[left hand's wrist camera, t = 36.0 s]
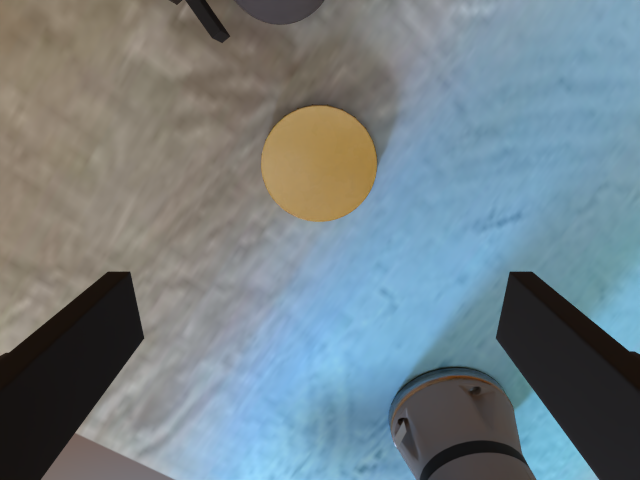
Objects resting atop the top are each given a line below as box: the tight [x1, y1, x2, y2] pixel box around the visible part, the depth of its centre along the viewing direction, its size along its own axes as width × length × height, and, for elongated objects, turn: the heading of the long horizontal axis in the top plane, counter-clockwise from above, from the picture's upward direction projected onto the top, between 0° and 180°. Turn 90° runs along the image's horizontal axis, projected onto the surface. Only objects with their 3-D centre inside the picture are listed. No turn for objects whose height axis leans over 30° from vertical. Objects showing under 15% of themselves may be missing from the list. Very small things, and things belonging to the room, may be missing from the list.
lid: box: [261, 104, 377, 222], centre depth 34 cm, size 11×11×2 cm
